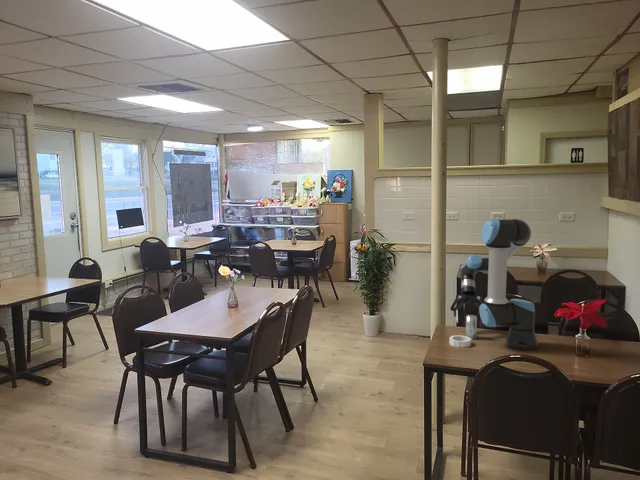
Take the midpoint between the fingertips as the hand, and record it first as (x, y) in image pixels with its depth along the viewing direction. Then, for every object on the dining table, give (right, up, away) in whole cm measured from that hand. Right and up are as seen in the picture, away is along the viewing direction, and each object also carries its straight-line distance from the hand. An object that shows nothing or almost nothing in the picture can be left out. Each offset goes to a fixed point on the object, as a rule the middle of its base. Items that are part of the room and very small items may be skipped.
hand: (470, 321), depth 261 cm
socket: (-9, -10, -11) cm, 17 cm away
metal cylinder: (0, -8, -1) cm, 9 cm away
